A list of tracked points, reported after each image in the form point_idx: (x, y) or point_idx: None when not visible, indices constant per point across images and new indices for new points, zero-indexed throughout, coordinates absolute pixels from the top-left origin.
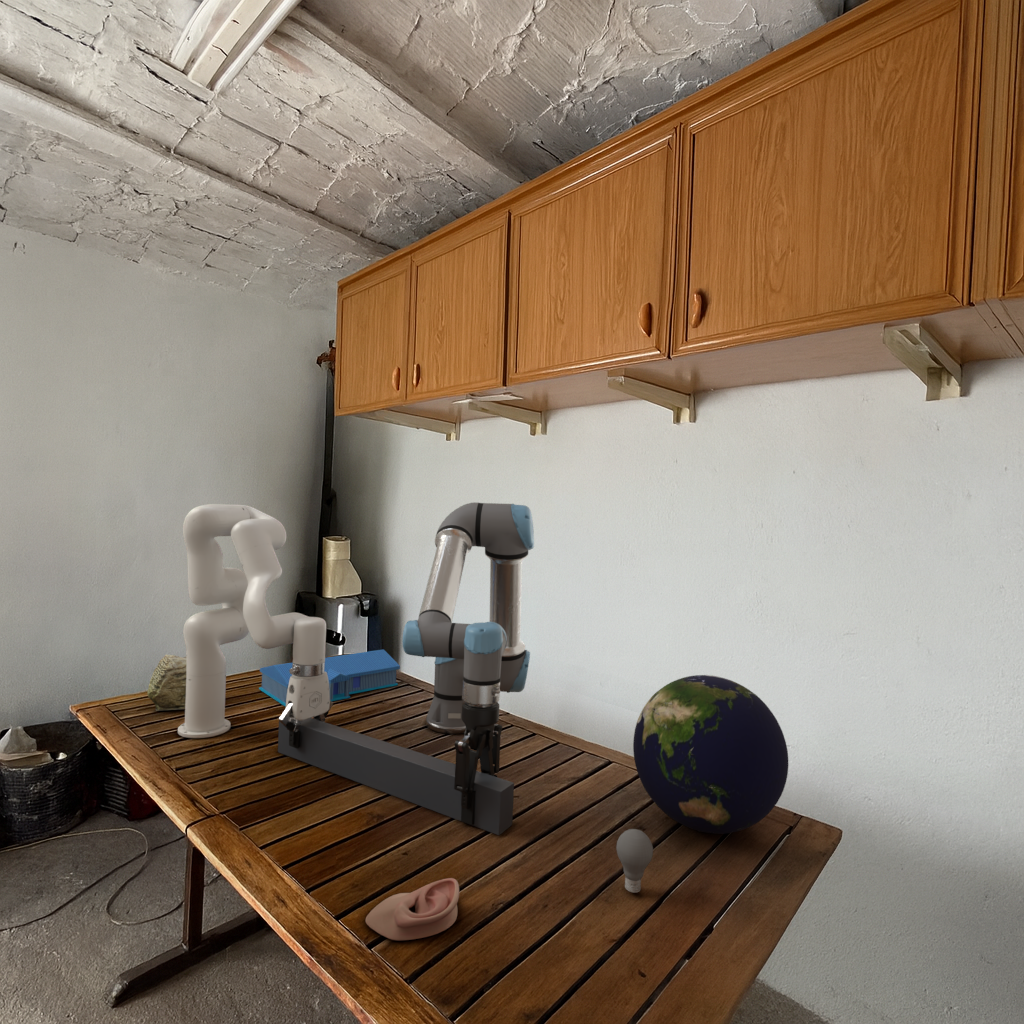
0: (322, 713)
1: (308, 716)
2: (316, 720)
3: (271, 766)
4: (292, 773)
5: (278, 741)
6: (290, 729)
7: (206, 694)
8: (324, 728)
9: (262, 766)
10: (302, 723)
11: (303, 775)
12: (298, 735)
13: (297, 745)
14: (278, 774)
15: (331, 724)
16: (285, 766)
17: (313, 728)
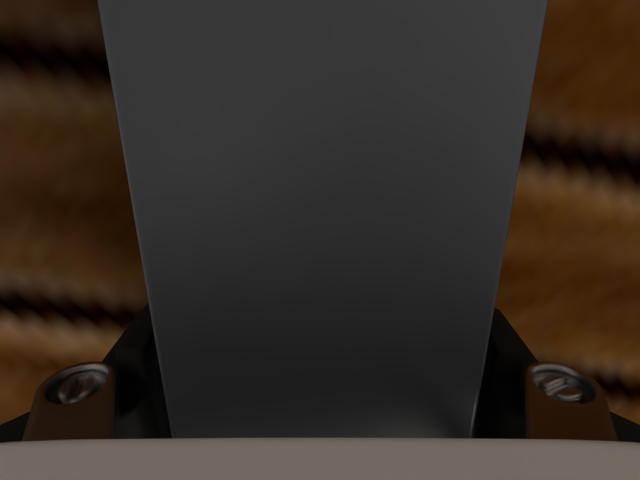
0: (84, 439)
1: (522, 473)
2: (196, 412)
3: (552, 297)
4: (581, 105)
5: None
6: (624, 429)
7: None
8: (364, 16)
9: (576, 334)
10: None
11: (575, 3)
12: (504, 325)
13: None
14: (635, 170)
15: (118, 88)
16: (510, 234)
17: (483, 191)
